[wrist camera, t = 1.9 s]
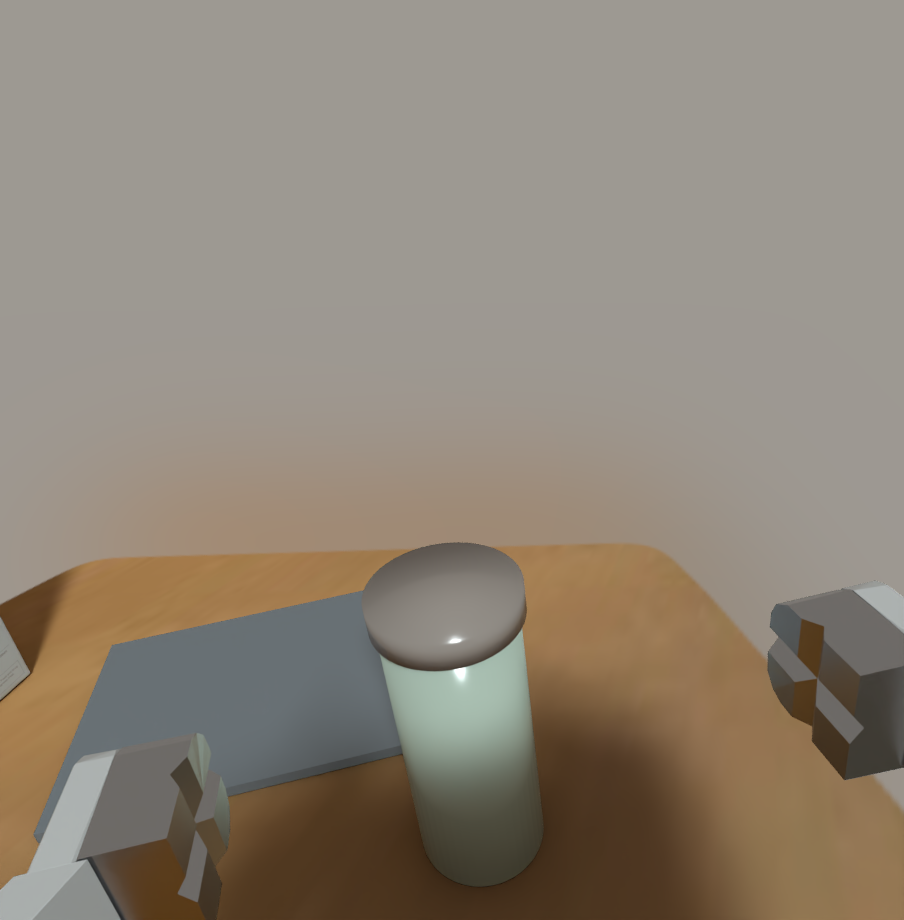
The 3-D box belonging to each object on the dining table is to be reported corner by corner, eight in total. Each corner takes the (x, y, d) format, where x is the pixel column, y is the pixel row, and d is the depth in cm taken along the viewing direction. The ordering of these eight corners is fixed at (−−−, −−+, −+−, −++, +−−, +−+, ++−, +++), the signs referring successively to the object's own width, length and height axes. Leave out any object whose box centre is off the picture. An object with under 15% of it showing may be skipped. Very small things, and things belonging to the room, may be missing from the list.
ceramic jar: (426, 909, 28) (367, 660, 22) (409, 786, 33) (357, 560, 27) (568, 871, 28) (545, 619, 23) (527, 756, 34) (501, 530, 28)
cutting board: (38, 843, 33) (33, 834, 33) (115, 652, 45) (112, 645, 45) (442, 743, 35) (440, 735, 35) (408, 588, 47) (407, 580, 47)
